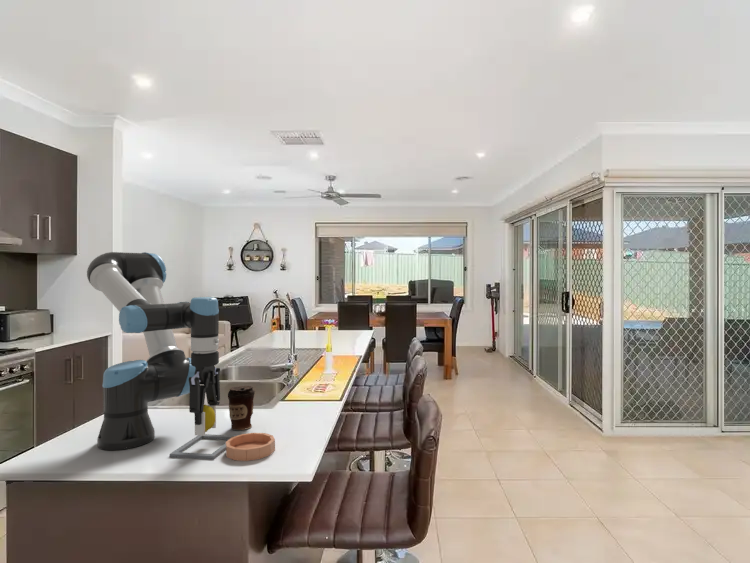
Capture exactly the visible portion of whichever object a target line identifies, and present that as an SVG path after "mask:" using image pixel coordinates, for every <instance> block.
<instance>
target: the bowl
mask: <svg viewBox="0 0 750 563" xmlns="http://www.w3.org/2000/svg"><path fill="white" fill-rule="evenodd" d="M234 436H235V437H232V438H230V439H229V440H227V441H226V440H225V443H226V450H225V455H226V458H228V459H231V460H233V461H240V462H241V461H242V462H248V461H255V460H260V459H264V458H266V457H268V456H271V455H272V454H273V453H274V452H275V451H276V439H275V437H274V435H272V434H269V433H266V432H250V433H241V434H238V435H234Z"/></svg>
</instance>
